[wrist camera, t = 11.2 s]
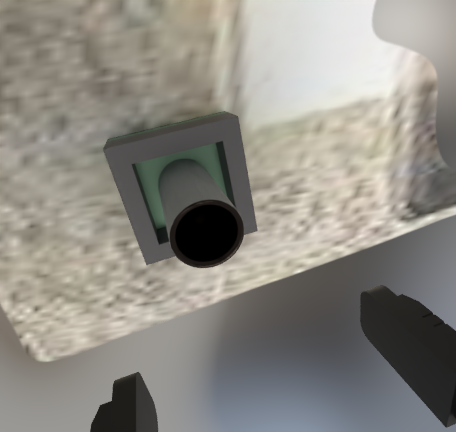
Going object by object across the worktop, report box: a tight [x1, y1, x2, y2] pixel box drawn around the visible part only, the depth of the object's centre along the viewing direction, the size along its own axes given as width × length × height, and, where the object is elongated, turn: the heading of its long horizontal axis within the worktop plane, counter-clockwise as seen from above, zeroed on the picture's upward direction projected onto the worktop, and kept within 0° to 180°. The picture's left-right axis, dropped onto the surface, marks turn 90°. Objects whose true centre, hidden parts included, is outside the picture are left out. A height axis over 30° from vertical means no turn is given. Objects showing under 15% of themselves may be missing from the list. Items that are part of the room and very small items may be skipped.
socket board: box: [103, 111, 257, 265], centre depth 27 cm, size 10×10×4 cm
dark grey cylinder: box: [158, 159, 244, 268], centre depth 23 cm, size 4×4×10 cm
